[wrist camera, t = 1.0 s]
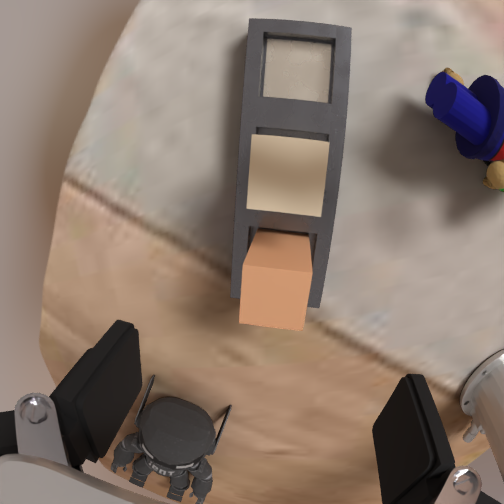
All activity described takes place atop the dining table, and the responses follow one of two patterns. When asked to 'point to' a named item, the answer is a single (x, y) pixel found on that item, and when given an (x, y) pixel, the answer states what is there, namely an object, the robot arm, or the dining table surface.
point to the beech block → (287, 174)
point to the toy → (473, 119)
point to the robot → (171, 445)
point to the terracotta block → (276, 280)
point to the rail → (293, 126)
